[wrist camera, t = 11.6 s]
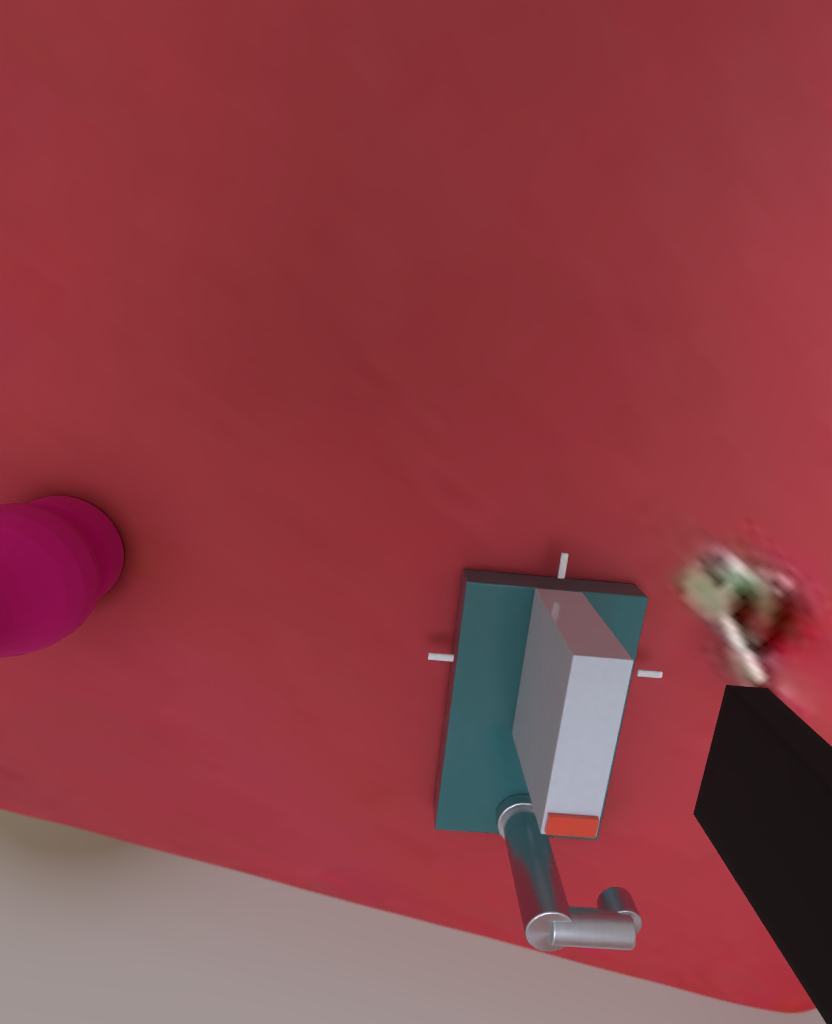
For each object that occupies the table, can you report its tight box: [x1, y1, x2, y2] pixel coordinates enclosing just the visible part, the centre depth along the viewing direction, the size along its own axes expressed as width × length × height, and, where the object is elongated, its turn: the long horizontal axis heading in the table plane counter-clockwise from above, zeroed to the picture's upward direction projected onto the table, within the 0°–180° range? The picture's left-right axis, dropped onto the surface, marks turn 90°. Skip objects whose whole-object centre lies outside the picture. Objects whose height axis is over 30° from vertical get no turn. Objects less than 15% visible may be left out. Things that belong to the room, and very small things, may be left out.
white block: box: [512, 588, 633, 838], centre depth 30 cm, size 9×3×8 cm, turn 174°
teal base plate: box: [428, 553, 663, 840], centre depth 35 cm, size 18×13×2 cm
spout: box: [496, 794, 642, 951], centre depth 32 cm, size 6×3×8 cm, turn 84°
